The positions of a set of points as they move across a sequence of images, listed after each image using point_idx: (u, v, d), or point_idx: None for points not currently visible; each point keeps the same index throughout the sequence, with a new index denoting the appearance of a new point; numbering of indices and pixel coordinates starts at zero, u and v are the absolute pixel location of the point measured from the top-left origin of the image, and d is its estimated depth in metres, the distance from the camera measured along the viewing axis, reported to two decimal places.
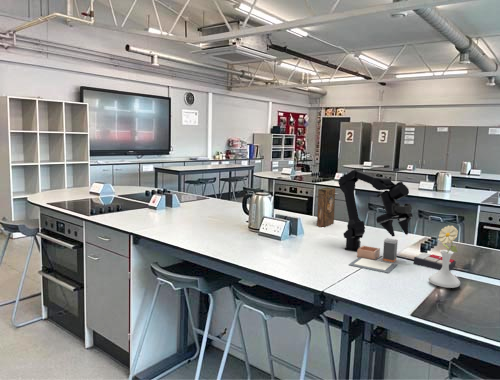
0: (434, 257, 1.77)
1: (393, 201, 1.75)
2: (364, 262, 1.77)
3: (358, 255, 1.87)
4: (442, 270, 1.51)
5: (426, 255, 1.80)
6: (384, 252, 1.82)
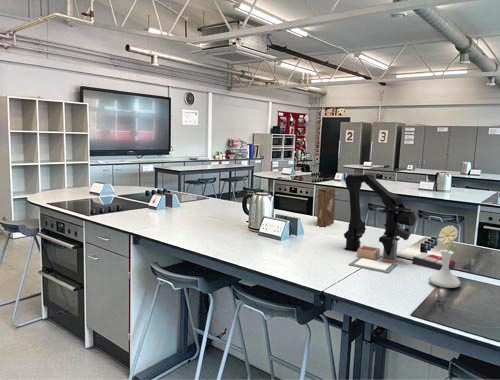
0: (433, 257, 1.77)
1: (397, 223, 1.79)
2: (364, 262, 1.77)
3: (358, 255, 1.87)
4: (442, 270, 1.51)
5: (425, 255, 1.80)
6: (384, 252, 1.82)
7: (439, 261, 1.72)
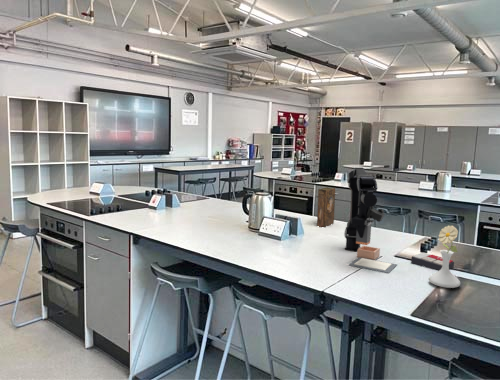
0: (432, 257, 1.77)
1: None
2: (364, 262, 1.77)
3: (358, 255, 1.87)
4: (442, 270, 1.51)
5: (425, 255, 1.80)
6: (357, 235, 1.74)
7: (437, 261, 1.72)
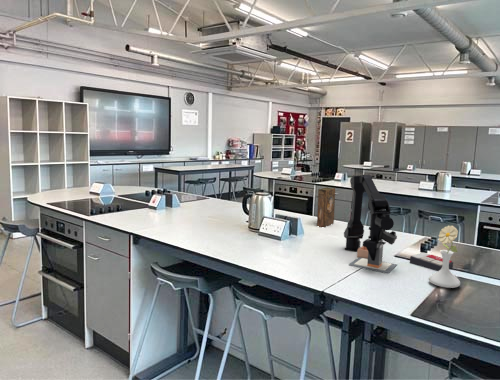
0: (431, 257, 1.77)
1: None
2: (364, 262, 1.77)
3: (358, 255, 1.87)
4: (442, 270, 1.51)
5: (424, 255, 1.80)
6: (369, 257, 1.71)
7: (435, 261, 1.72)
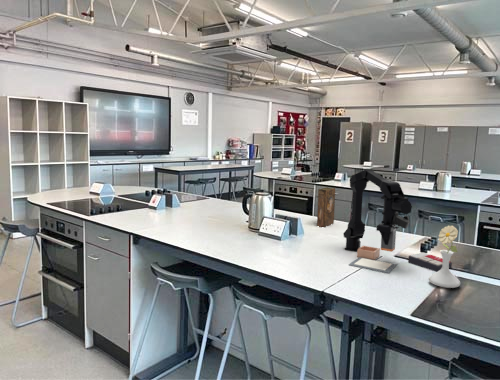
0: (430, 257, 1.77)
1: (396, 211, 1.70)
2: (364, 262, 1.77)
3: (358, 255, 1.87)
4: (442, 270, 1.51)
5: (423, 255, 1.81)
6: (382, 241, 1.73)
7: (433, 261, 1.72)
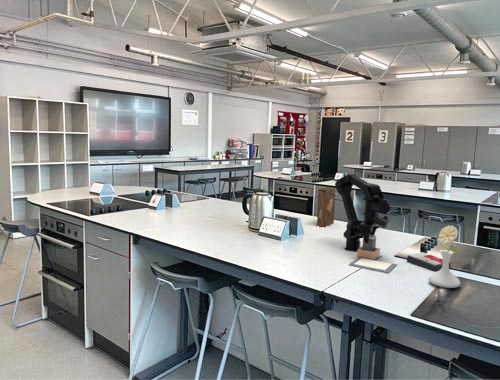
0: (428, 257, 1.77)
1: (376, 211, 1.84)
2: (364, 262, 1.77)
3: (358, 255, 1.87)
4: (442, 270, 1.51)
5: (422, 255, 1.81)
6: (363, 247, 1.87)
7: (431, 261, 1.72)
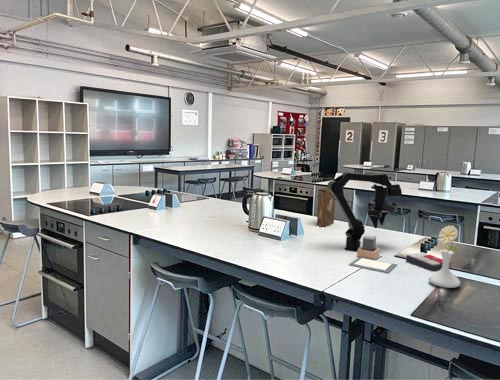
0: (427, 257, 1.77)
1: (385, 198, 1.97)
2: (364, 262, 1.77)
3: (358, 255, 1.87)
4: (442, 270, 1.51)
5: (421, 255, 1.81)
6: (363, 248, 1.87)
7: (429, 261, 1.72)
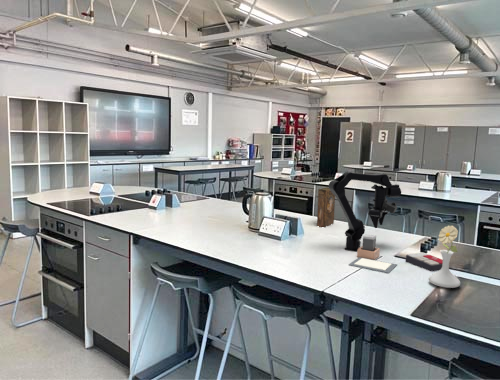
0: (427, 257, 1.77)
1: (385, 198, 1.98)
2: (364, 262, 1.77)
3: (358, 255, 1.87)
4: (442, 270, 1.51)
5: (421, 254, 1.81)
6: (363, 248, 1.87)
7: (428, 261, 1.72)
